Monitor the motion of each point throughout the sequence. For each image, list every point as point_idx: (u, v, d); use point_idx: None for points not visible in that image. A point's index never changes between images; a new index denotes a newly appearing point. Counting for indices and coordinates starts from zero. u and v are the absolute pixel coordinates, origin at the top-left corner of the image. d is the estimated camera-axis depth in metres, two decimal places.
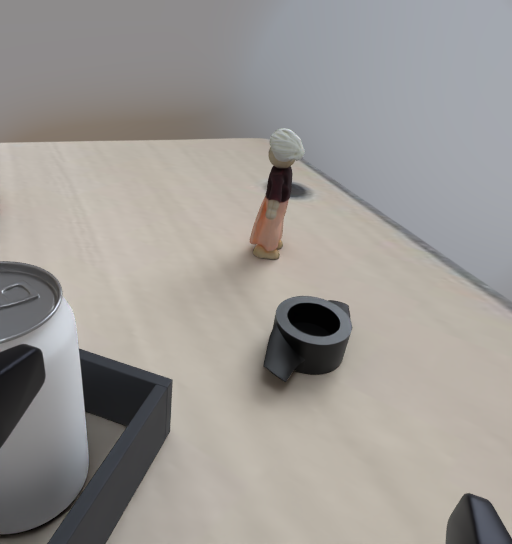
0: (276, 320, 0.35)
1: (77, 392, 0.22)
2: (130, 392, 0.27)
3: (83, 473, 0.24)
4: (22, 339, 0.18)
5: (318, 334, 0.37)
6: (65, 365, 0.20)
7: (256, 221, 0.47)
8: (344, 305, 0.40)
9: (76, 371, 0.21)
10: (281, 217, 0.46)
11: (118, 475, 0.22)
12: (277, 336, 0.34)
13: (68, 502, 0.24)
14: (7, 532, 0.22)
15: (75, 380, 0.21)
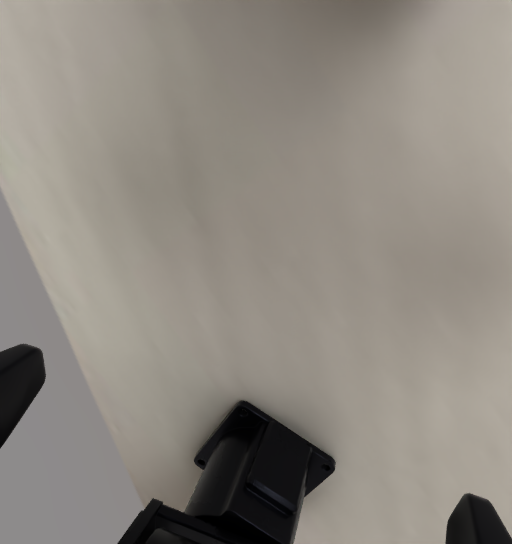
0: None
1: None
2: None
3: None
4: None
5: None
6: None
7: None
8: None
9: None
10: None
11: None
12: None
13: None
14: None
15: None
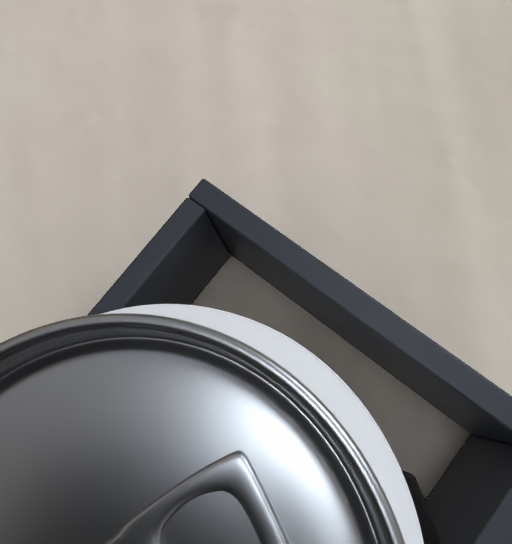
0: None
1: None
2: (456, 403, 0.12)
3: None
4: None
5: None
6: None
7: None
8: None
9: None
10: None
11: None
12: None
13: None
14: None
15: None
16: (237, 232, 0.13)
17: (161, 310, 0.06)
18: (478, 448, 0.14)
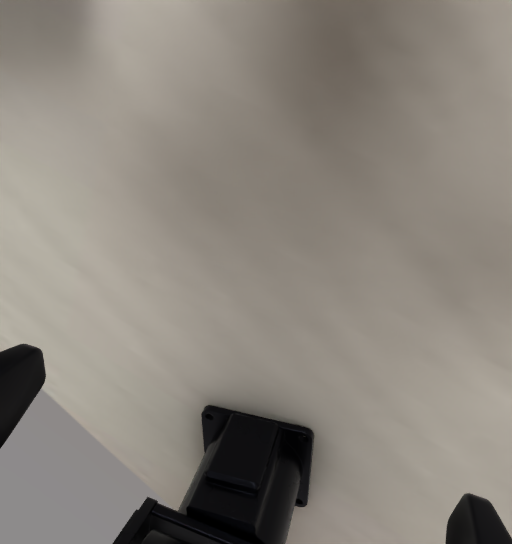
0: None
1: None
2: None
3: None
4: None
5: None
6: None
7: None
8: None
9: None
10: None
11: None
12: None
13: None
14: None
15: None
16: None
17: None
18: None
